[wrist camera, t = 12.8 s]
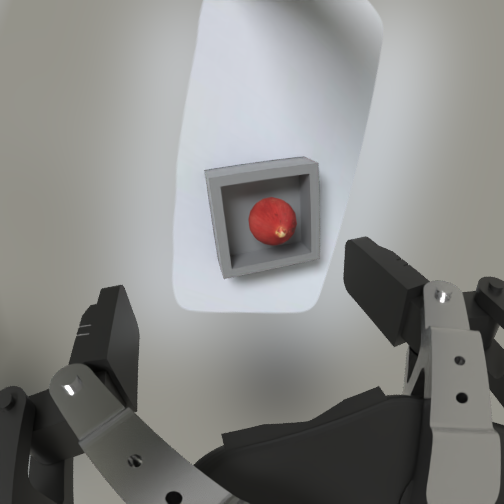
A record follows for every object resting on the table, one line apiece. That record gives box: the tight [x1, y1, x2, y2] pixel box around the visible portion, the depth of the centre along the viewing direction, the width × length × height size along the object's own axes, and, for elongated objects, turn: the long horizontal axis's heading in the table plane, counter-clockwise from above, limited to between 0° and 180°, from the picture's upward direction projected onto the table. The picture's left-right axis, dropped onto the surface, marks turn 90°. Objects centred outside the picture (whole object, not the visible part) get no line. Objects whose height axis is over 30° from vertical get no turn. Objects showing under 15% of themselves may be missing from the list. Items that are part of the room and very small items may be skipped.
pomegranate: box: [248, 197, 297, 246], centre depth 38 cm, size 6×6×8 cm
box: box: [205, 157, 320, 279], centre depth 41 cm, size 13×13×4 cm
